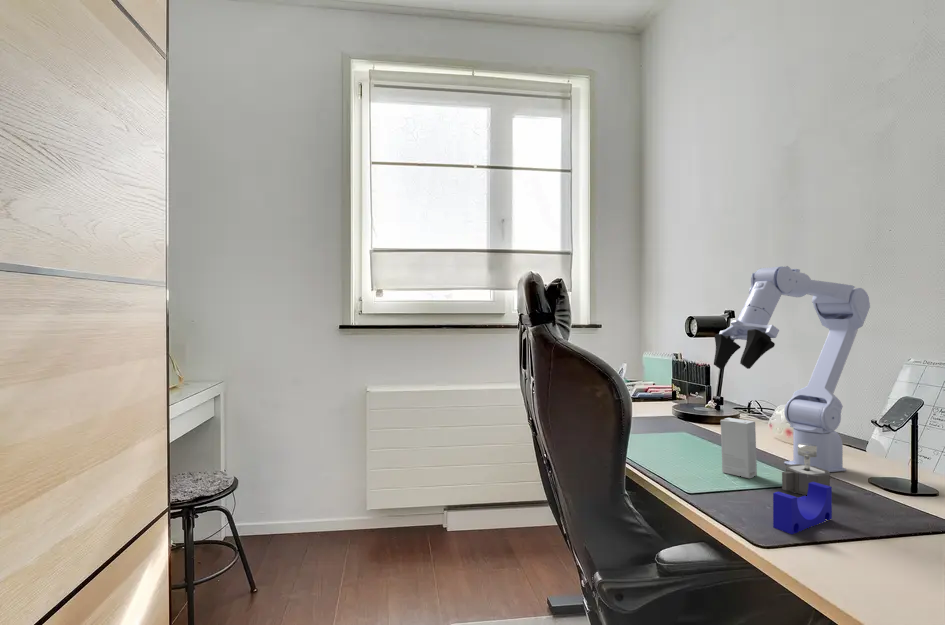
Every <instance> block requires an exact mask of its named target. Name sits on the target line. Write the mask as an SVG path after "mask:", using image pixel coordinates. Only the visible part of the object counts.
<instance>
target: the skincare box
mask: <svg viewBox="0 0 945 625" xmlns="http://www.w3.org/2000/svg"><path fill="white" fill-rule="evenodd" d="M756 433H757V431H756V421H753V420H748V419H747V420H746V419H739V418H734V417H733V418H732V417H726V418H722V419H720V437H721V438H720V441H721V444H720V445H721V470H722V471H721V472H722V473H725V474H728V475H732V476H737V477H740V476H741V478H744V479H745V478H746V479H752V478H754V476H755V477H756V476H757V475H758V470H757V468H758V467H757V465H758V464H757V462H758V461H757V437H756V435H757V434H756Z"/></svg>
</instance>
